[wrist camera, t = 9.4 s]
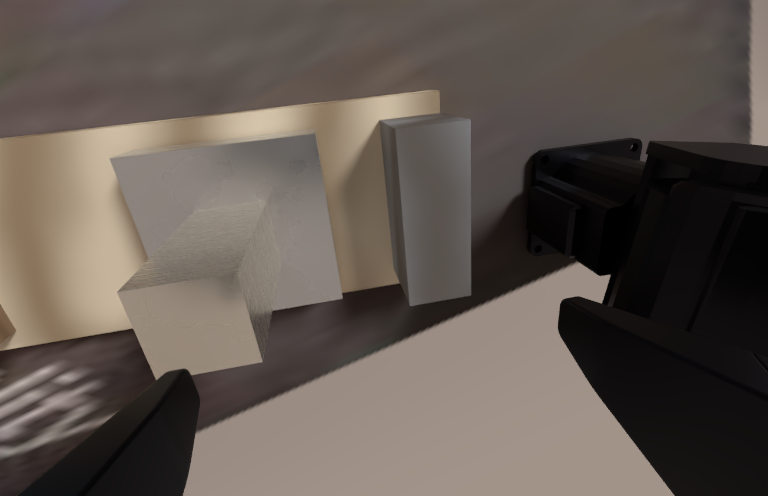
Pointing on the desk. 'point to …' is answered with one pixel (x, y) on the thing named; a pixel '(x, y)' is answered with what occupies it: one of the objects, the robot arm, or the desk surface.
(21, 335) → the base
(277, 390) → the desk surface
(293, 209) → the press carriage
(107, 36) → the desk surface
